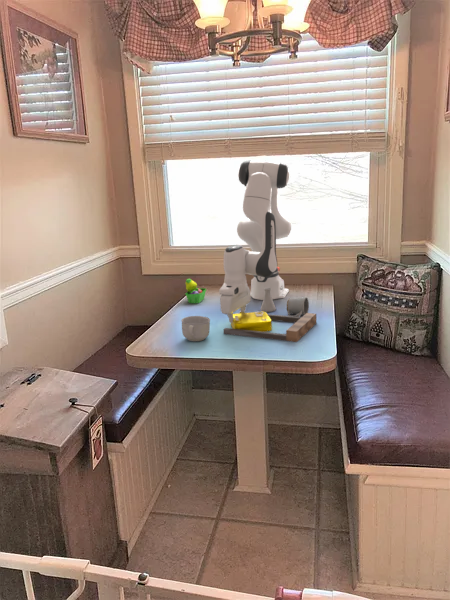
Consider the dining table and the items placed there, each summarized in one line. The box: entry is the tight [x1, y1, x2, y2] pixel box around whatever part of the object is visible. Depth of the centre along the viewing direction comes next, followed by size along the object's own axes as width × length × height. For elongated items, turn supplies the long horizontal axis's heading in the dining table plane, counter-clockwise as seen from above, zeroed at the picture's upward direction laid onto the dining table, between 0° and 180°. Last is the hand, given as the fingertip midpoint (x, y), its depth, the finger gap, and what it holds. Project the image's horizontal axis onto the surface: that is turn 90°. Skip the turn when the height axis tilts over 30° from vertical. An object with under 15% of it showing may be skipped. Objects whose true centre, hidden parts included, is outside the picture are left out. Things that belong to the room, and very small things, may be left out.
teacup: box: [181, 315, 211, 342], centre depth 194 cm, size 14×11×8 cm
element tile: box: [230, 310, 273, 332], centre depth 207 cm, size 15×15×5 cm
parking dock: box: [223, 312, 317, 343], centre depth 203 cm, size 24×30×4 cm
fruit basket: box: [185, 278, 207, 304], centre depth 251 cm, size 11×9×11 cm
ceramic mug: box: [286, 296, 310, 317], centre depth 219 cm, size 11×8×8 cm
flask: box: [259, 288, 277, 313], centre depth 228 cm, size 7×7×10 cm
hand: (237, 318), depth 210 cm, fingers open, 8 cm apart
